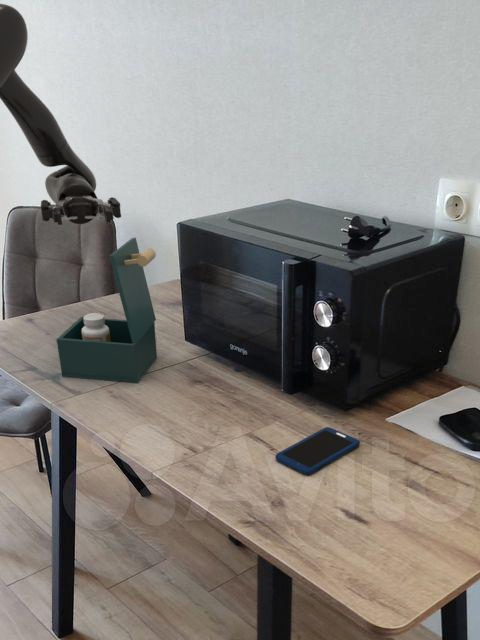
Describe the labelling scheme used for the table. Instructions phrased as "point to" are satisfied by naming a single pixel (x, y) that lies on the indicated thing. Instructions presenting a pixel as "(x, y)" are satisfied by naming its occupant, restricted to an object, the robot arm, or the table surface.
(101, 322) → the supplement bottle
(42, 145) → the robot arm
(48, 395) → the table surface
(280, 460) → the cell phone
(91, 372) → the dark green rectangular box
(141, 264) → the green box lid
